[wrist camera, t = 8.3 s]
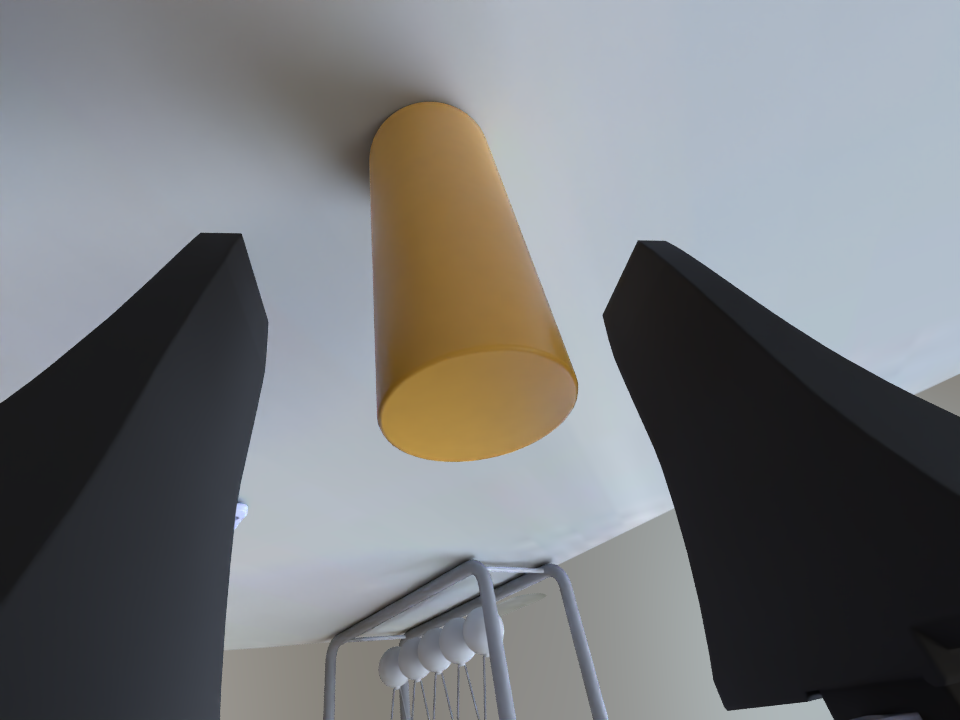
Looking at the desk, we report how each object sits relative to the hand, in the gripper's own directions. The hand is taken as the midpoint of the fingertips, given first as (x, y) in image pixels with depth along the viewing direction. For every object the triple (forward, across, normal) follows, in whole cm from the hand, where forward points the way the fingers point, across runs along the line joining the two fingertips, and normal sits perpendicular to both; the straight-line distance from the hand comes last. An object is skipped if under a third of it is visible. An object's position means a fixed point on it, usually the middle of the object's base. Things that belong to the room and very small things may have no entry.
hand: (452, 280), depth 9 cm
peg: (+4, 0, 0) cm, 4 cm away
